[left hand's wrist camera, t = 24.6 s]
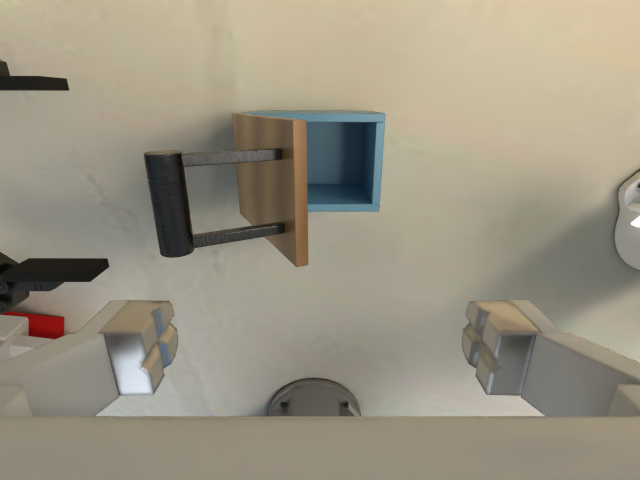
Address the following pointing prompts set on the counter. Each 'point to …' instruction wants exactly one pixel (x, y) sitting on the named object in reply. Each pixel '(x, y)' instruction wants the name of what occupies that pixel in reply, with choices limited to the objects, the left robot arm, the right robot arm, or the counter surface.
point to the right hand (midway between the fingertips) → (79, 185)
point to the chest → (341, 158)
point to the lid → (240, 188)
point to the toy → (27, 332)
